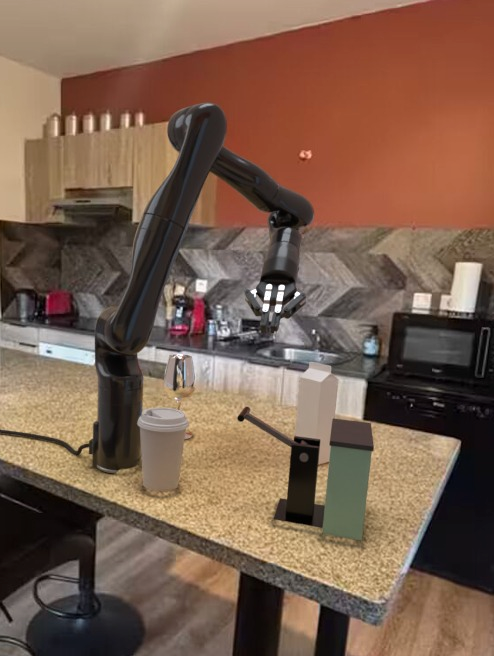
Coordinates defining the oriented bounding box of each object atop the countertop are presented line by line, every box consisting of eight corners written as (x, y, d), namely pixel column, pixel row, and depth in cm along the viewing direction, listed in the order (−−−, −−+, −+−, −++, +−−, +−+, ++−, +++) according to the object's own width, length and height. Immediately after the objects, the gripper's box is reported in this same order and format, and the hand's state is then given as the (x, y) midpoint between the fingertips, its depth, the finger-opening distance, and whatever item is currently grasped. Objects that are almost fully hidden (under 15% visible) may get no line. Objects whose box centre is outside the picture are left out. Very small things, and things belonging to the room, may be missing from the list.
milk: (313, 466, 120) (322, 367, 116) (292, 458, 125) (300, 362, 121) (331, 461, 124) (340, 364, 120) (309, 453, 128) (318, 360, 124)
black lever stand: (272, 525, 92) (278, 446, 89) (279, 504, 100) (285, 431, 98) (322, 534, 90) (330, 453, 87) (324, 511, 98) (331, 437, 96)
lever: (234, 422, 93) (241, 410, 92) (240, 413, 98) (247, 402, 98) (307, 468, 90) (315, 456, 89) (310, 456, 96) (317, 445, 95)
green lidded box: (320, 540, 88) (329, 440, 85) (324, 506, 100) (332, 418, 97) (362, 548, 86) (373, 446, 83) (361, 512, 98) (370, 422, 95)
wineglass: (196, 433, 140) (200, 355, 136) (187, 442, 132) (191, 360, 129) (167, 428, 142) (170, 352, 139) (156, 437, 135) (159, 356, 131)
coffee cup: (134, 479, 108) (137, 405, 106) (183, 480, 109) (186, 406, 107) (135, 500, 99) (137, 420, 96) (188, 500, 100) (192, 421, 97)
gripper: (248, 254, 118) (233, 316, 108) (313, 256, 114) (303, 321, 104) (250, 278, 124) (236, 339, 114) (312, 281, 120) (303, 345, 110)
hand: (268, 330), depth 109 cm, fingers closed
